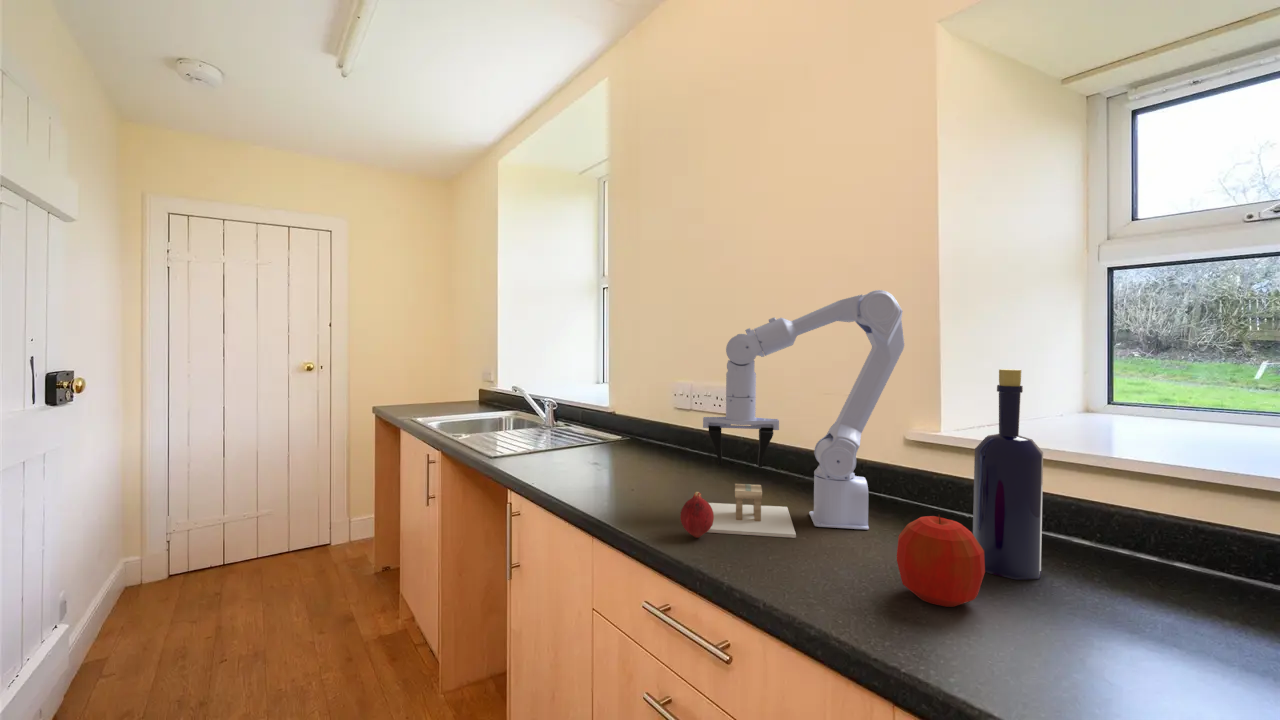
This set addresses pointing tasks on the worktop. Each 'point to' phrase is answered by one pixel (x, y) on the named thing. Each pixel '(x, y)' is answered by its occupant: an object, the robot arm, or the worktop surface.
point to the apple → (940, 561)
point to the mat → (752, 521)
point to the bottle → (1009, 491)
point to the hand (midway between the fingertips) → (739, 465)
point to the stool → (748, 493)
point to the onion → (697, 516)
